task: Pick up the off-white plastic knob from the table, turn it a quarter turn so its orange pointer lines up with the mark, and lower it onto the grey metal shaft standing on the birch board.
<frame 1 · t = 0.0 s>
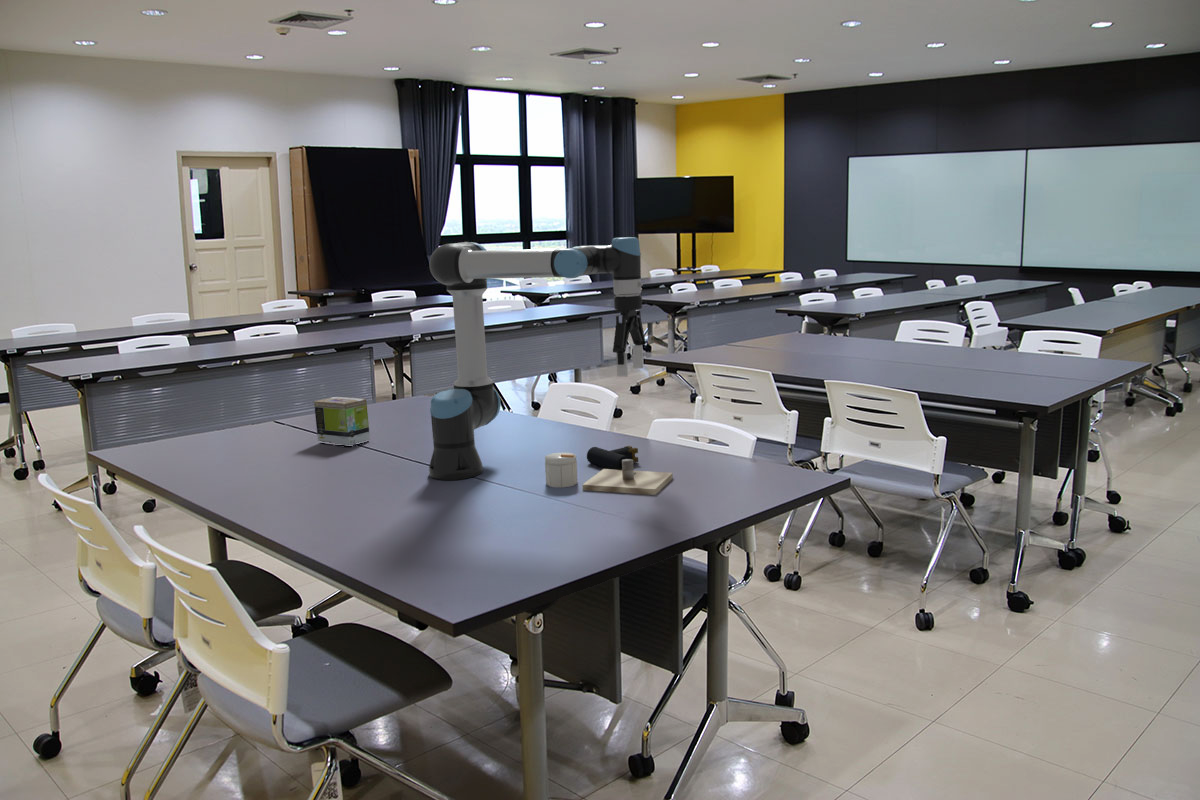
hand: (630, 372, 263), 28 cm above the table, fingers open, 13 cm apart
shaft base: (628, 484, 255), on the table
knob: (561, 483, 259), on the table
tea box: (344, 443, 318), on the table
pipe connector: (618, 467, 275), on the table
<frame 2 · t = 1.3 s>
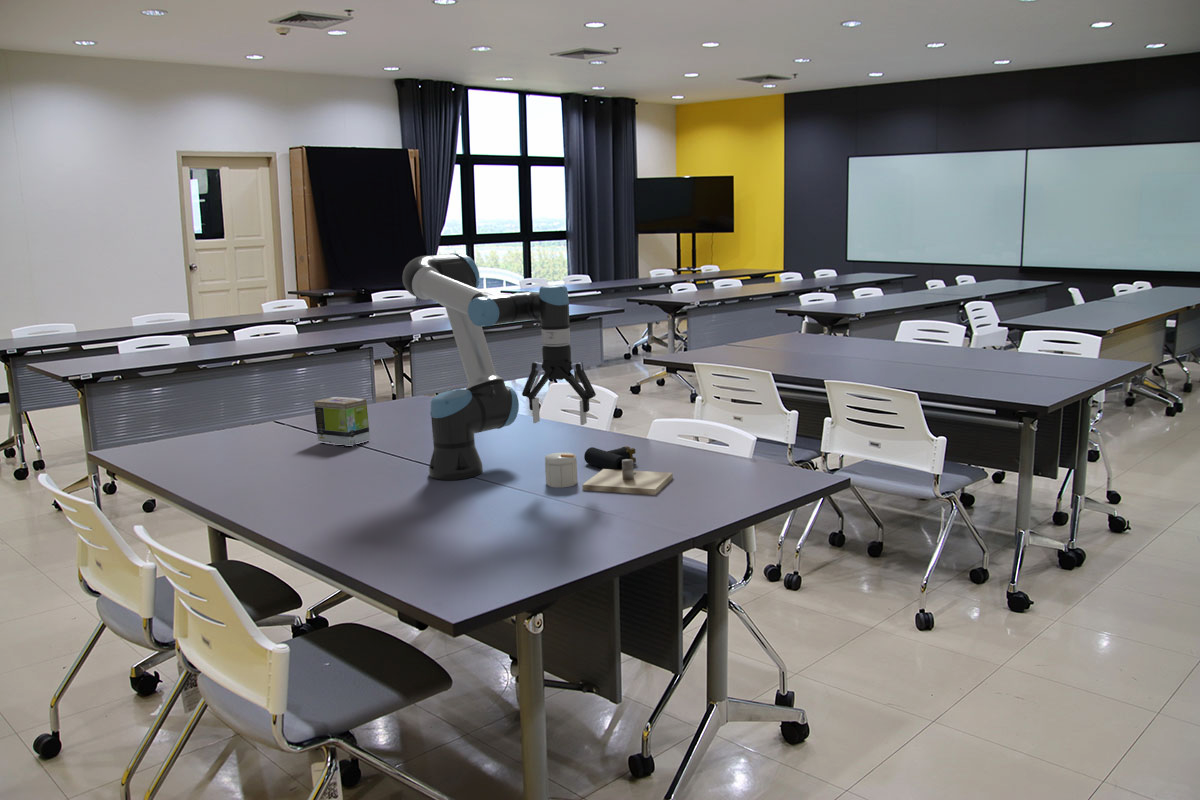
hand: (559, 423, 256), 17 cm above the table, fingers open, 13 cm apart
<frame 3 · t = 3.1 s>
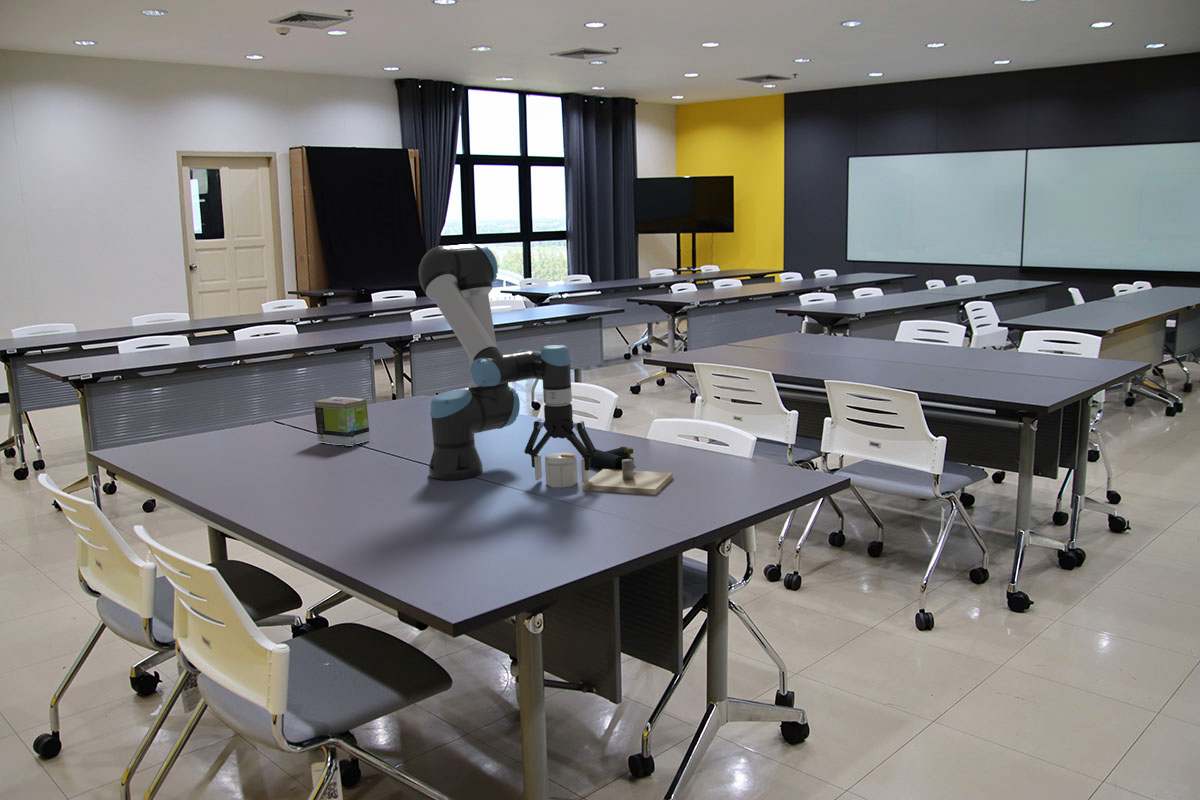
hand: (561, 480, 258), 1 cm above the table, fingers open, 13 cm apart
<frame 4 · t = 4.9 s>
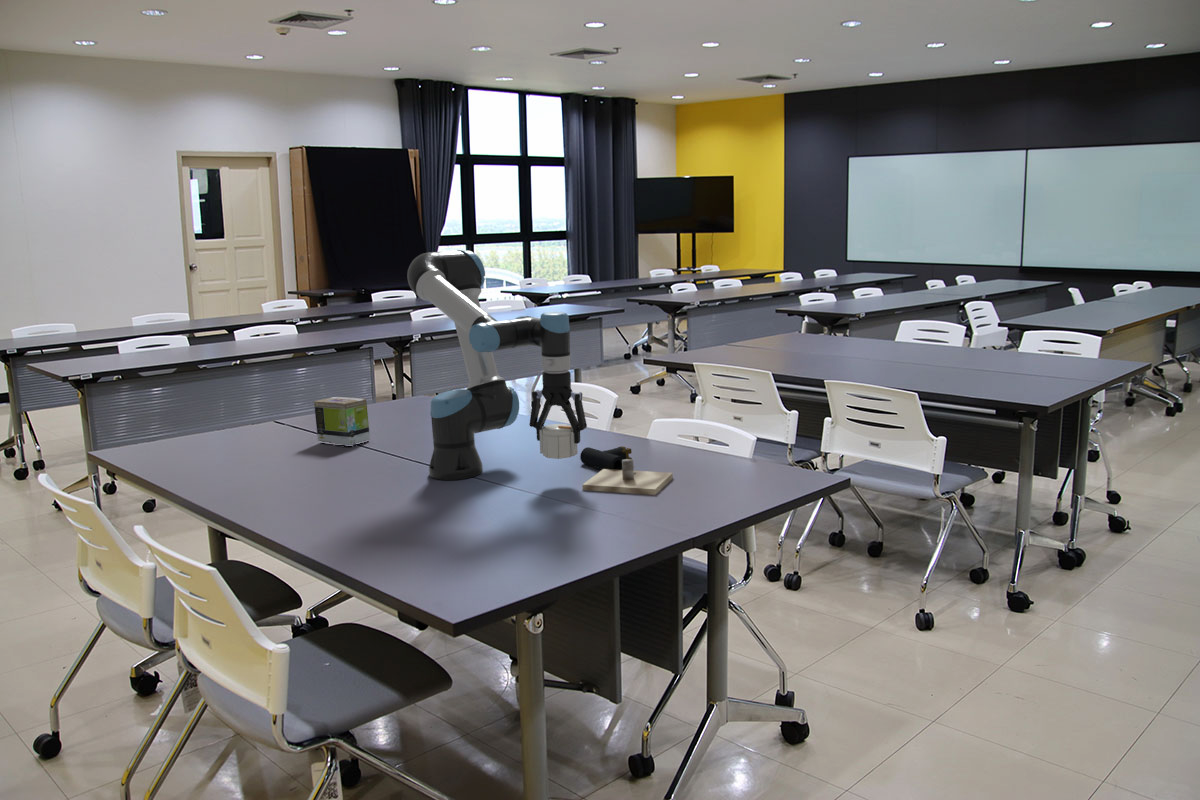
hand: (558, 453, 257), 8 cm above the table, fingers closed on knob, 8 cm apart
knob: (558, 454, 258), point 8 cm above the table, touching gripper
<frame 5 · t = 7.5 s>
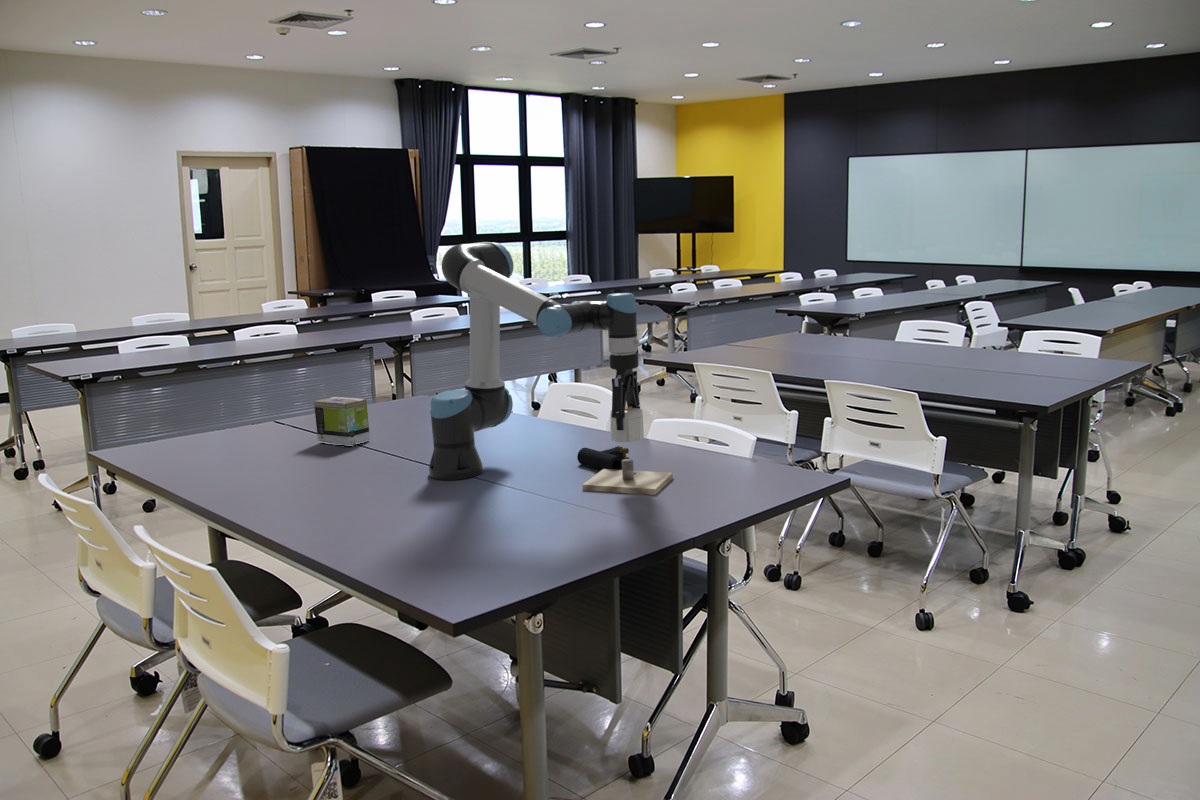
hand: (627, 437, 252), 13 cm above the table, fingers closed on knob, 8 cm apart
knob: (627, 438, 252), point 12 cm above the table, touching gripper
when the fingers open (2 cm above the table, at t = 10.2 s): knob stays where it is, resting on shaft base.
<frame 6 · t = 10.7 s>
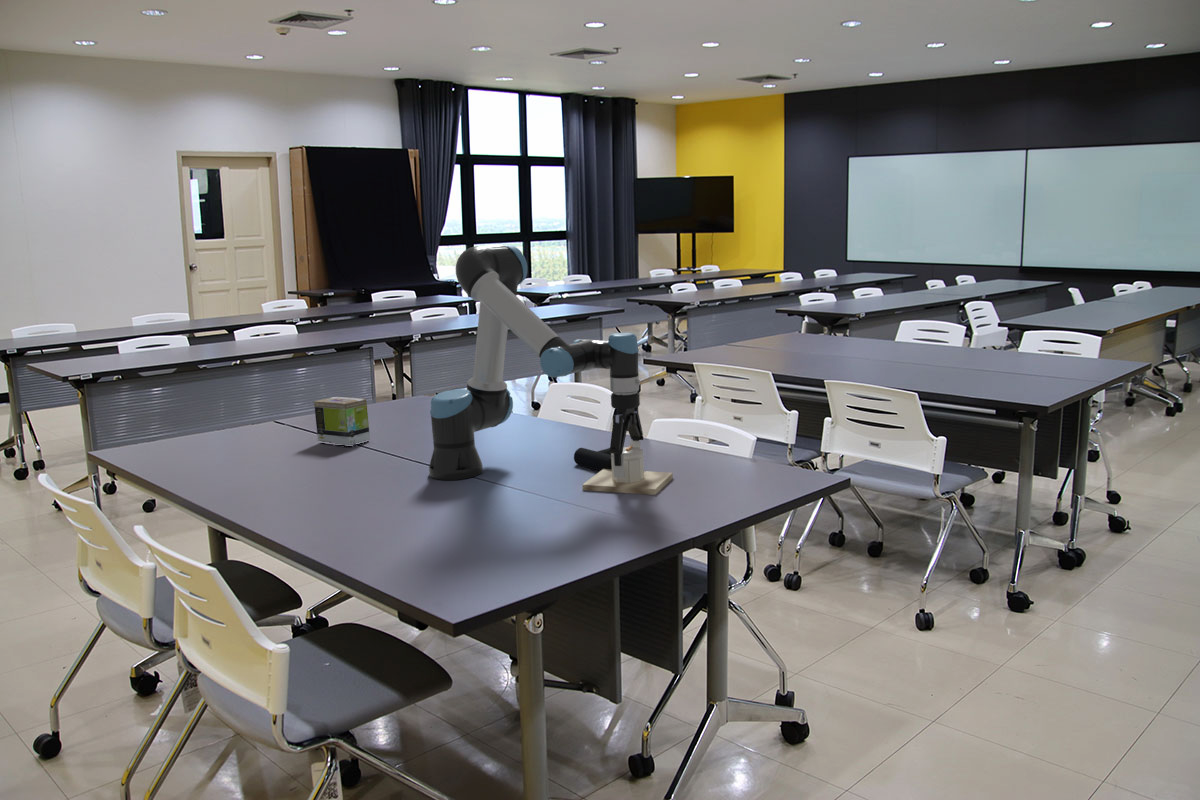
hand: (627, 470, 254), 4 cm above the table, fingers open, 13 cm apart
knob: (628, 478, 255), point 2 cm above the table, touching shaft base
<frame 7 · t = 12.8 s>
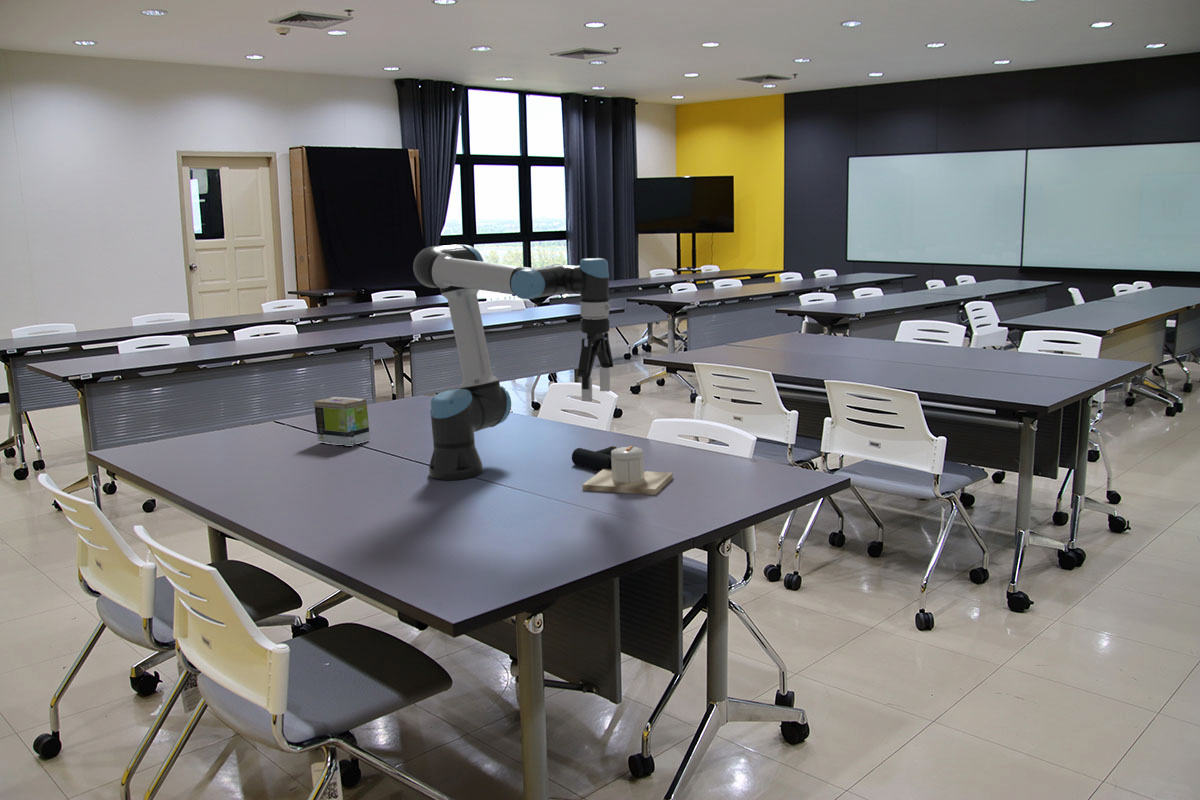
hand: (596, 396, 257), 23 cm above the table, fingers open, 13 cm apart
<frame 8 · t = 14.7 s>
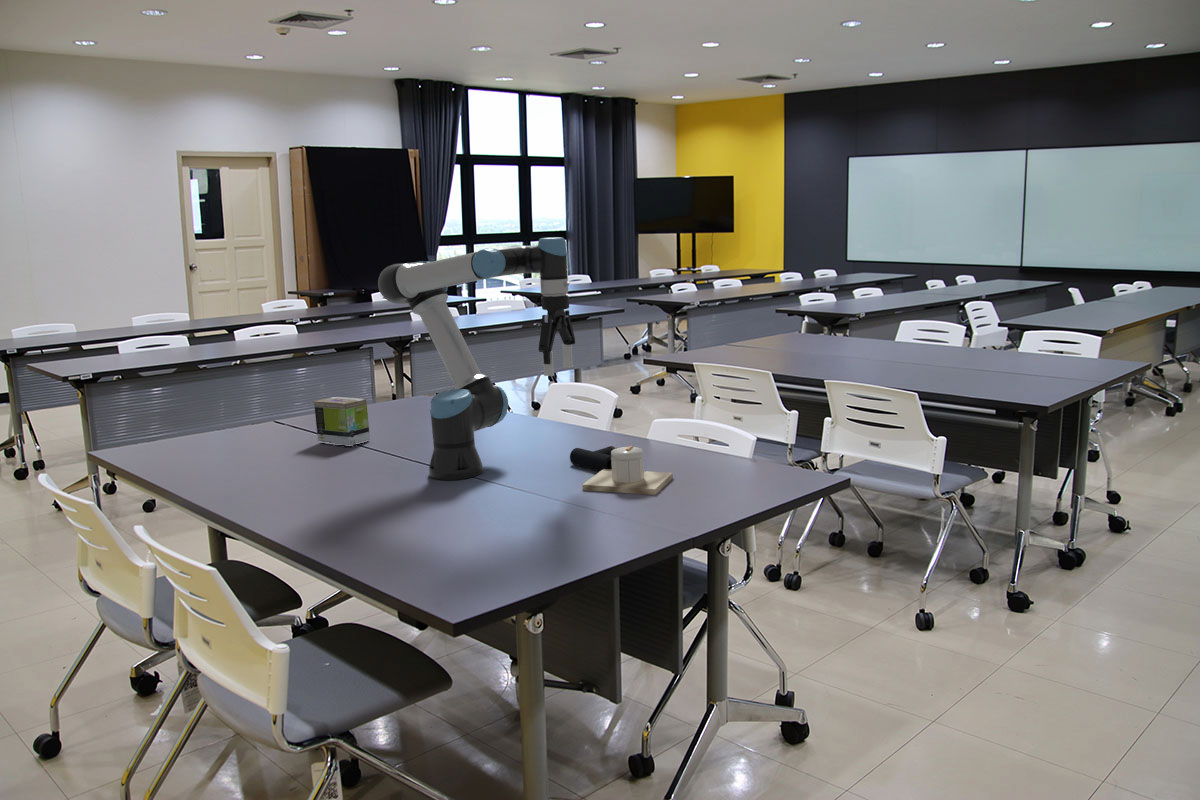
hand: (558, 371, 265), 29 cm above the table, fingers open, 13 cm apart
at the end: knob 0.0 cm off-centre on the shaft base, point 1.6 cm above the shaft base's base; knob tilted 2°; the gripper is holding nothing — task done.
